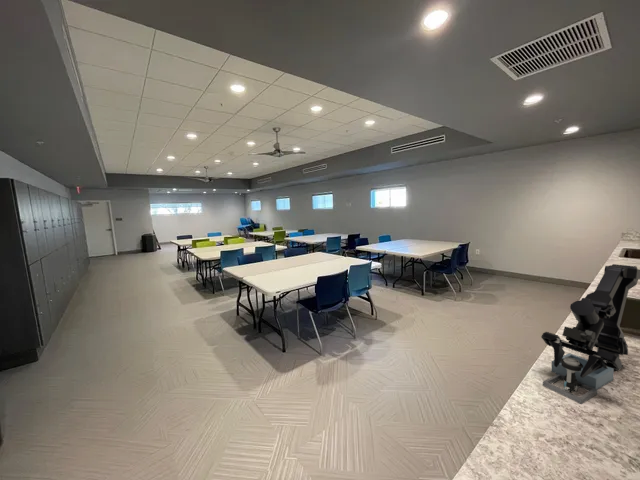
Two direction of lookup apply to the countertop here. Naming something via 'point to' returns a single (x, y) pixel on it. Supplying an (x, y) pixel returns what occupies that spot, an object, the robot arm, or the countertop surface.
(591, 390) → the silver picture frame
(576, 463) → the countertop surface
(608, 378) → the plastic bin
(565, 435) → the countertop surface
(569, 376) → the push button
